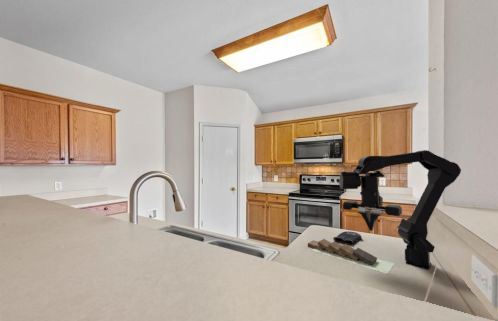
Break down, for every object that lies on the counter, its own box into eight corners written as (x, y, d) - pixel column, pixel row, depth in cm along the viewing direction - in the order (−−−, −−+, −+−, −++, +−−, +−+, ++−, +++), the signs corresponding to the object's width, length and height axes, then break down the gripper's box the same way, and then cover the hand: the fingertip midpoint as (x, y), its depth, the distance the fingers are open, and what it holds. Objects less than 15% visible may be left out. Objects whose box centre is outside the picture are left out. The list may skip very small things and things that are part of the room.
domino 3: (350, 250, 85) (334, 241, 89) (345, 254, 81) (328, 244, 86) (349, 253, 85) (333, 244, 90) (344, 257, 81) (328, 247, 86)
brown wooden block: (362, 253, 81) (345, 243, 86) (357, 258, 78) (339, 247, 83) (361, 257, 82) (344, 246, 86) (356, 261, 78) (338, 250, 83)
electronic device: (355, 250, 92) (364, 237, 103) (352, 238, 92) (361, 226, 103) (334, 248, 99) (345, 235, 110) (332, 236, 99) (342, 225, 110)
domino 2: (339, 247, 88) (324, 238, 93) (333, 250, 85) (318, 241, 90) (338, 250, 88) (323, 241, 93) (332, 253, 85) (317, 244, 90)
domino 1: (327, 244, 92) (313, 240, 97) (322, 247, 88) (307, 243, 93) (327, 247, 92) (313, 243, 97) (322, 250, 88) (307, 246, 93)
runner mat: (394, 264, 76) (394, 263, 76) (387, 275, 69) (387, 273, 69) (322, 244, 96) (322, 243, 96) (311, 250, 89) (311, 249, 89)
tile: (377, 257, 78) (358, 247, 82) (373, 262, 74) (353, 251, 79) (376, 261, 78) (357, 250, 83) (371, 265, 74) (352, 254, 79)
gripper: (404, 188, 77) (406, 230, 77) (351, 185, 91) (353, 221, 91) (397, 191, 70) (399, 238, 69) (341, 188, 83) (342, 227, 83)
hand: (371, 230), depth 78 cm, fingers closed
